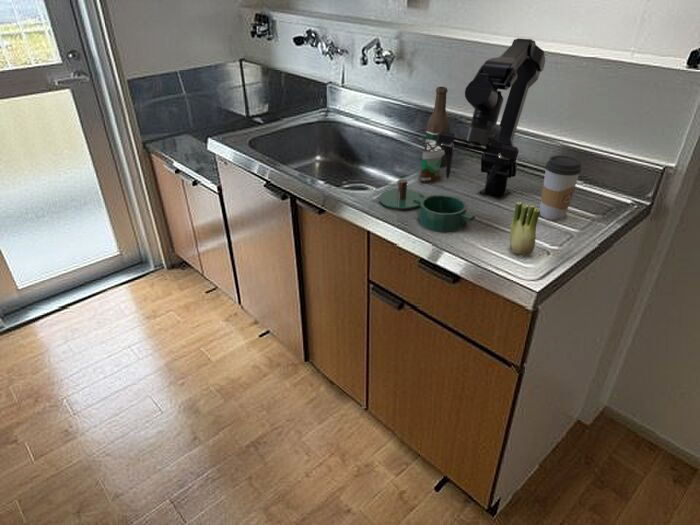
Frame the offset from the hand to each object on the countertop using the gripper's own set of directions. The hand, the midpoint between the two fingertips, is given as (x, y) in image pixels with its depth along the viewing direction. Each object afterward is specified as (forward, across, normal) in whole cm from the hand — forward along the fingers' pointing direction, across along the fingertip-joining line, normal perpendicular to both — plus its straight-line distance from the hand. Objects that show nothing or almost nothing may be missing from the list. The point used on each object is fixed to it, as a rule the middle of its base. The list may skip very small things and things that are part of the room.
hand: (466, 182), depth 116 cm
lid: (+7, -17, +16) cm, 24 cm away
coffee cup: (+2, +23, +19) cm, 30 cm away
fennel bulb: (+13, +16, -1) cm, 21 cm away
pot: (+10, -4, +8) cm, 14 cm away
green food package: (-1, -12, +34) cm, 36 cm away
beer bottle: (-7, -14, +45) cm, 47 cm away
